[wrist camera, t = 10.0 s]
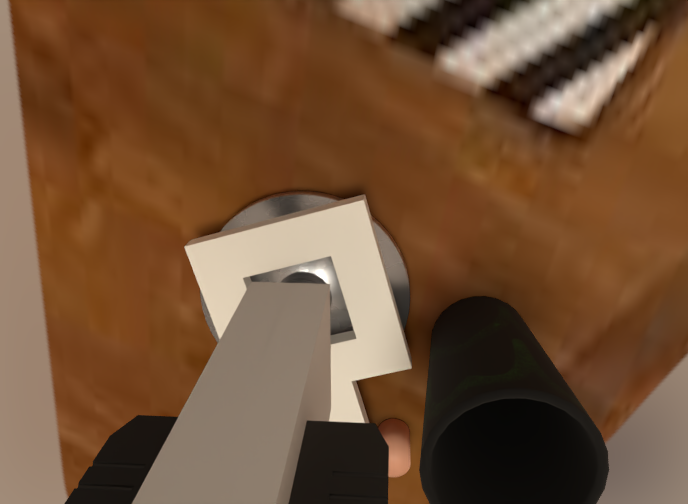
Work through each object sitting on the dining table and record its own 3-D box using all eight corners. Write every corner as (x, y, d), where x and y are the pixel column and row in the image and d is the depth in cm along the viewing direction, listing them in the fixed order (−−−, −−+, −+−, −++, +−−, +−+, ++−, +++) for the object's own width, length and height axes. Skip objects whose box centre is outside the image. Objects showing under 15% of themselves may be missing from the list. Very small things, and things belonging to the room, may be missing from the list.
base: (164, 289, 39) (98, 364, 30) (299, 145, 35) (268, 183, 27) (311, 416, 41) (289, 519, 32) (453, 292, 37) (469, 370, 29)
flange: (191, 239, 36) (134, 297, 28) (364, 194, 34) (355, 242, 27) (284, 487, 41) (258, 594, 33) (439, 458, 39) (450, 563, 32)
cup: (451, 416, 40) (472, 570, 29) (389, 317, 38) (386, 439, 27) (568, 362, 38) (640, 504, 27) (509, 255, 36) (559, 360, 25)
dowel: (370, 431, 41) (368, 462, 38) (393, 412, 40) (393, 442, 37) (393, 451, 41) (393, 482, 38) (416, 432, 40) (417, 463, 38)
